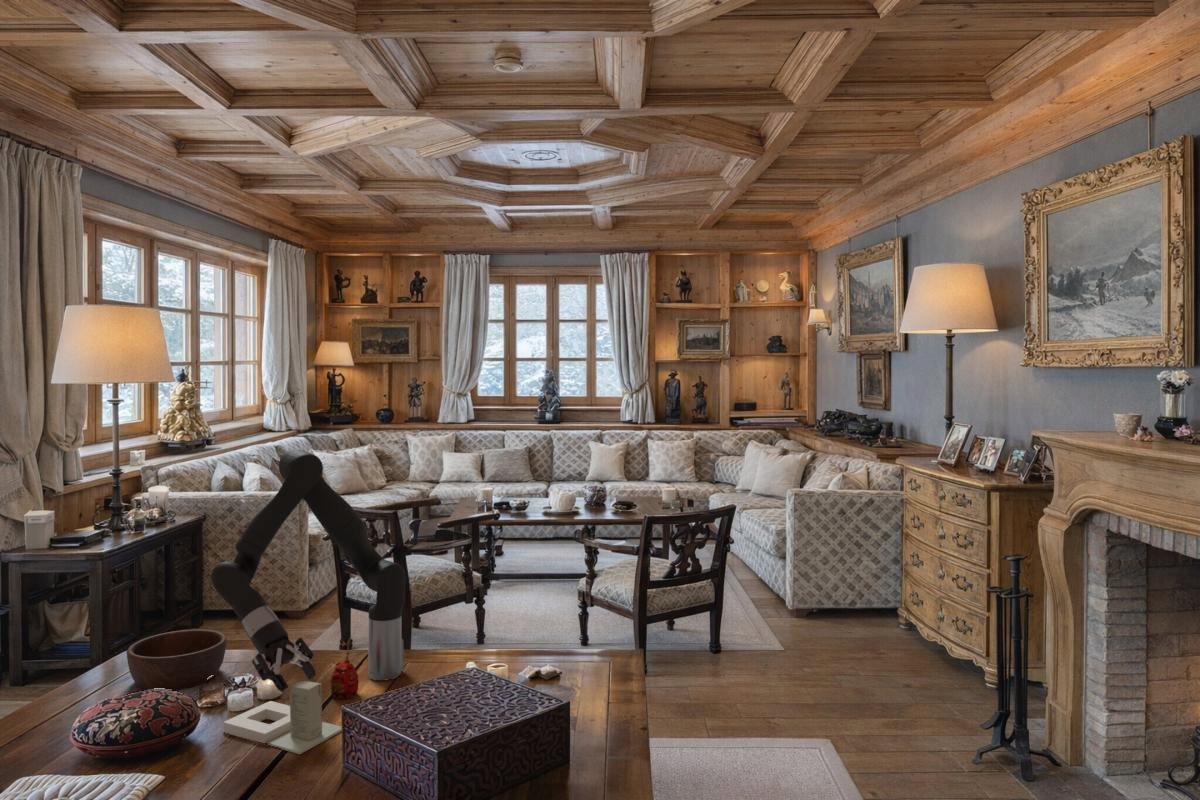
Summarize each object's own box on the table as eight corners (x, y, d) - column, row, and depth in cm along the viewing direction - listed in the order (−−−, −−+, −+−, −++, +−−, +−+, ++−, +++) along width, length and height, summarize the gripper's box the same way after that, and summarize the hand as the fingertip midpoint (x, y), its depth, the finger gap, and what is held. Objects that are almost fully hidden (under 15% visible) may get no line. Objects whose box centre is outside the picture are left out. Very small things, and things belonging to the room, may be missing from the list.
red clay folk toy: (324, 698, 206) (325, 643, 206) (340, 688, 213) (340, 635, 213) (349, 702, 204) (349, 646, 204) (364, 692, 211) (364, 637, 211)
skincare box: (323, 733, 184) (323, 683, 184) (309, 741, 180) (309, 689, 180) (302, 728, 187) (302, 678, 187) (288, 736, 183) (289, 685, 183)
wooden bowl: (157, 703, 202) (157, 664, 202) (108, 683, 215) (108, 646, 215) (244, 673, 224) (244, 638, 223) (195, 657, 237) (195, 623, 237)
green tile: (313, 721, 192) (313, 719, 192) (344, 729, 188) (344, 727, 188) (268, 745, 179) (268, 742, 179) (299, 754, 175) (299, 751, 175)
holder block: (270, 710, 199) (270, 700, 198) (310, 721, 193) (310, 711, 193) (223, 732, 186) (223, 722, 186) (264, 744, 180) (264, 733, 180)
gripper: (248, 628, 182) (283, 685, 177) (295, 612, 195) (329, 664, 190) (232, 647, 184) (267, 703, 179) (279, 630, 197) (313, 682, 192)
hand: (299, 683), depth 185 cm, fingers open, 8 cm apart
